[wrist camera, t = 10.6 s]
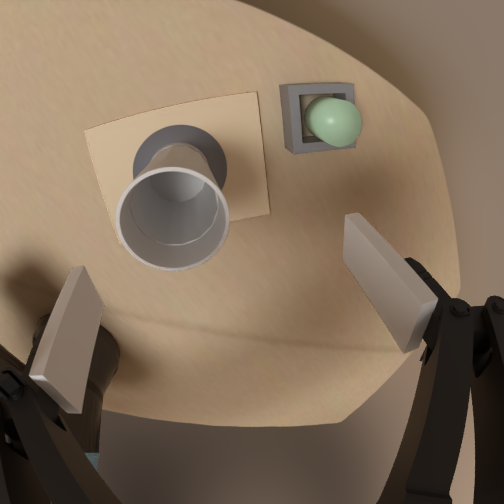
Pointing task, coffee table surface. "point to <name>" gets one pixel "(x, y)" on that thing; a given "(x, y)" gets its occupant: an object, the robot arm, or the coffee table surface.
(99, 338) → the robot arm
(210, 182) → the cup
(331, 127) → the button
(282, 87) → the button housing
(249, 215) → the sheet
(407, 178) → the coffee table surface
